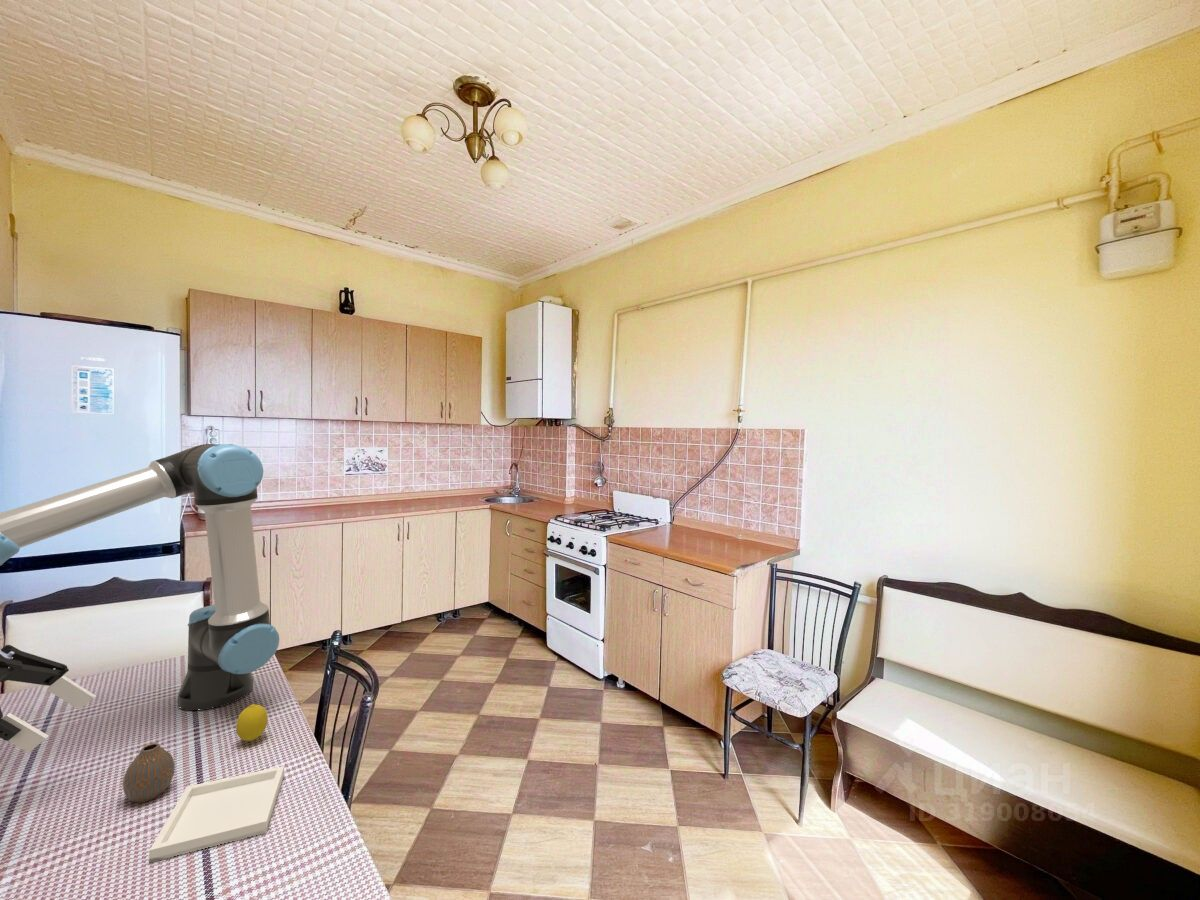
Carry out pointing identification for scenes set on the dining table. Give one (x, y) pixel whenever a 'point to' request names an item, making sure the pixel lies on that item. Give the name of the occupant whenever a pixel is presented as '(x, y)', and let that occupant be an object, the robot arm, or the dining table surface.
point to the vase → (148, 774)
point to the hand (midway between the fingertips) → (65, 722)
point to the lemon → (251, 722)
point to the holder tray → (219, 813)
